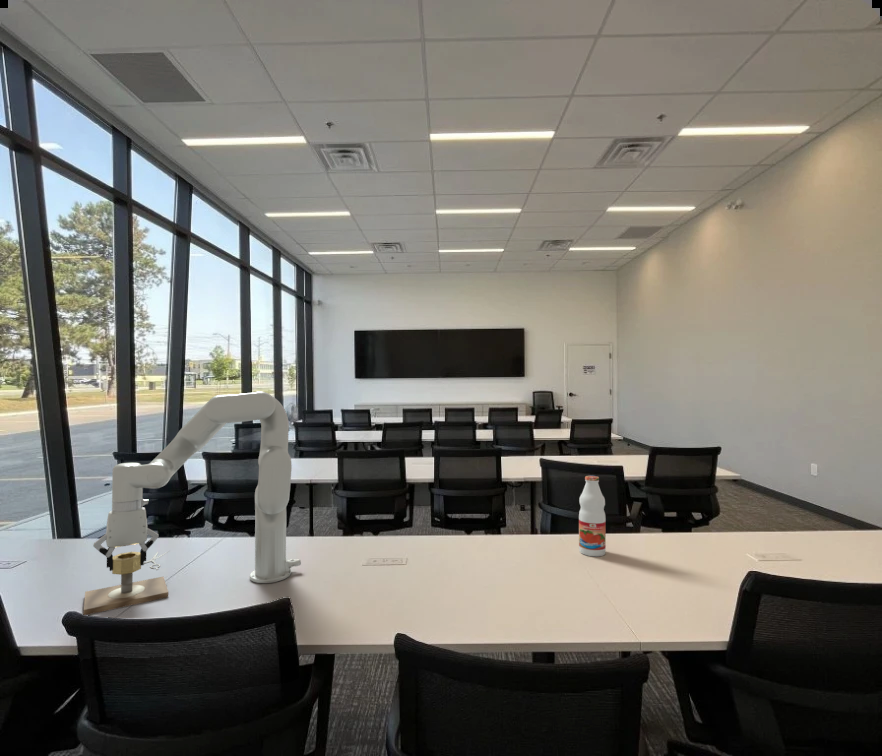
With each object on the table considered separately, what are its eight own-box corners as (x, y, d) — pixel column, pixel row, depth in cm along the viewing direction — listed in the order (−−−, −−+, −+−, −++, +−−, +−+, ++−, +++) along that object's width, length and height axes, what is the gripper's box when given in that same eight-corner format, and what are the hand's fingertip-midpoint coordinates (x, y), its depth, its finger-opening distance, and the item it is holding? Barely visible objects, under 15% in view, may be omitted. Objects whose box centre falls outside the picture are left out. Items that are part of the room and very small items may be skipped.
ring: (139, 563, 148) (140, 550, 148) (141, 570, 142) (141, 557, 142) (112, 568, 144) (112, 554, 144) (112, 576, 138) (112, 562, 138)
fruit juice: (606, 550, 184) (605, 475, 184) (605, 558, 175) (605, 479, 175) (579, 547, 187) (579, 473, 187) (577, 555, 178) (577, 478, 178)
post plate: (163, 581, 155) (163, 558, 155) (168, 597, 143) (168, 573, 143) (85, 596, 143) (85, 572, 143) (83, 615, 132) (83, 589, 132)
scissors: (123, 571, 162) (149, 550, 182) (123, 573, 162) (149, 552, 182) (157, 569, 164) (179, 548, 184) (157, 571, 164) (179, 551, 184)
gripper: (160, 499, 151) (159, 557, 151) (91, 507, 142) (90, 569, 141) (162, 504, 145) (162, 564, 145) (90, 512, 135) (89, 577, 135)
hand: (126, 566), depth 143 cm, fingers closed on ring, 7 cm apart
